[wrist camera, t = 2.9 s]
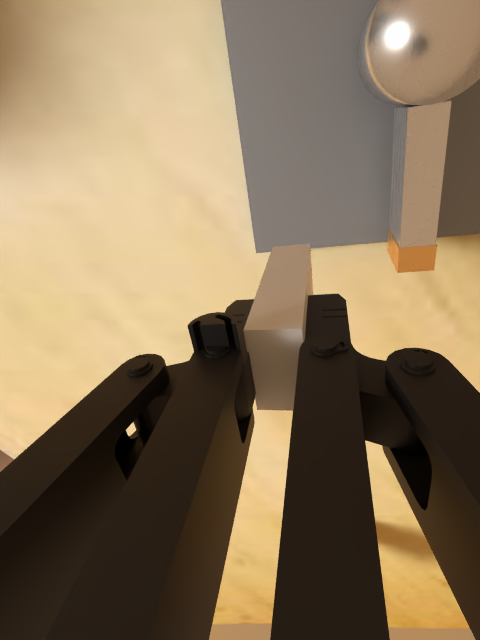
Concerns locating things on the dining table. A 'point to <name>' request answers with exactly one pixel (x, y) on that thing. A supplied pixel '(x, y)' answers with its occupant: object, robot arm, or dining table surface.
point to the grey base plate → (328, 128)
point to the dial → (419, 107)
